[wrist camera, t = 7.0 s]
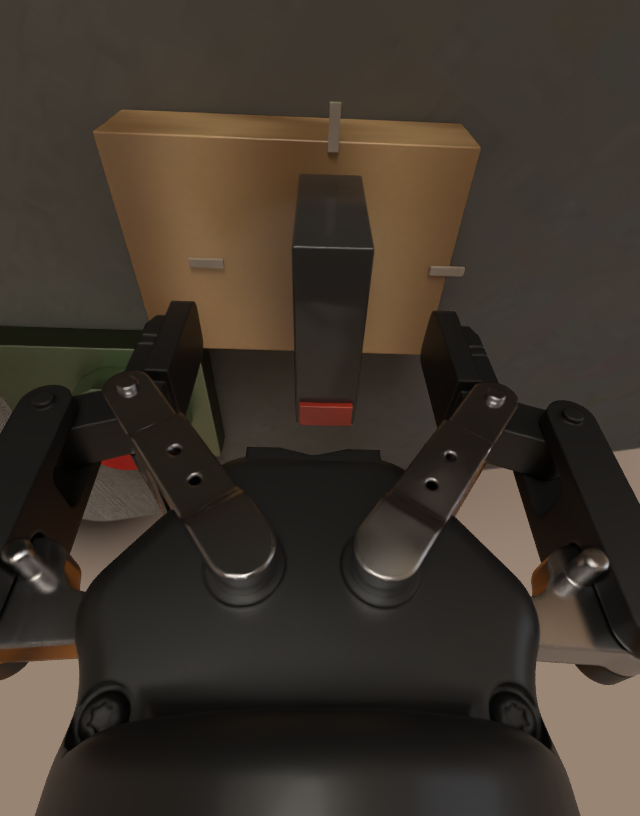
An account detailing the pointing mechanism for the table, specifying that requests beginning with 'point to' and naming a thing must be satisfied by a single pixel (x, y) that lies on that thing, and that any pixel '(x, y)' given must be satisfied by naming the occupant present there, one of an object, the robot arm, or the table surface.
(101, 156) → the wooden base block
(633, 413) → the table surface
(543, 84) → the table surface
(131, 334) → the button box
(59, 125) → the table surface
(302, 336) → the dark grey flat block
